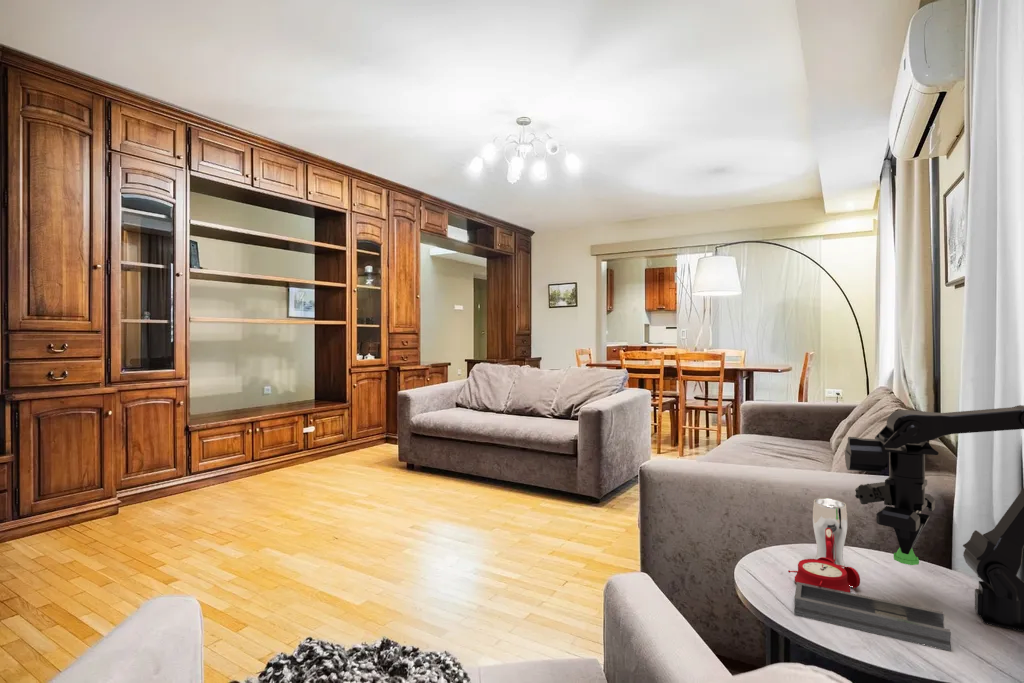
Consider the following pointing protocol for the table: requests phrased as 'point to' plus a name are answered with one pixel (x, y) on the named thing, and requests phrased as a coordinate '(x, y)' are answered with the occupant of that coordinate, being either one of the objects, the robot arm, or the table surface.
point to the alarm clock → (826, 574)
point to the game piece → (906, 557)
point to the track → (873, 615)
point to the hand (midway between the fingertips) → (906, 551)
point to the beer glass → (830, 528)
